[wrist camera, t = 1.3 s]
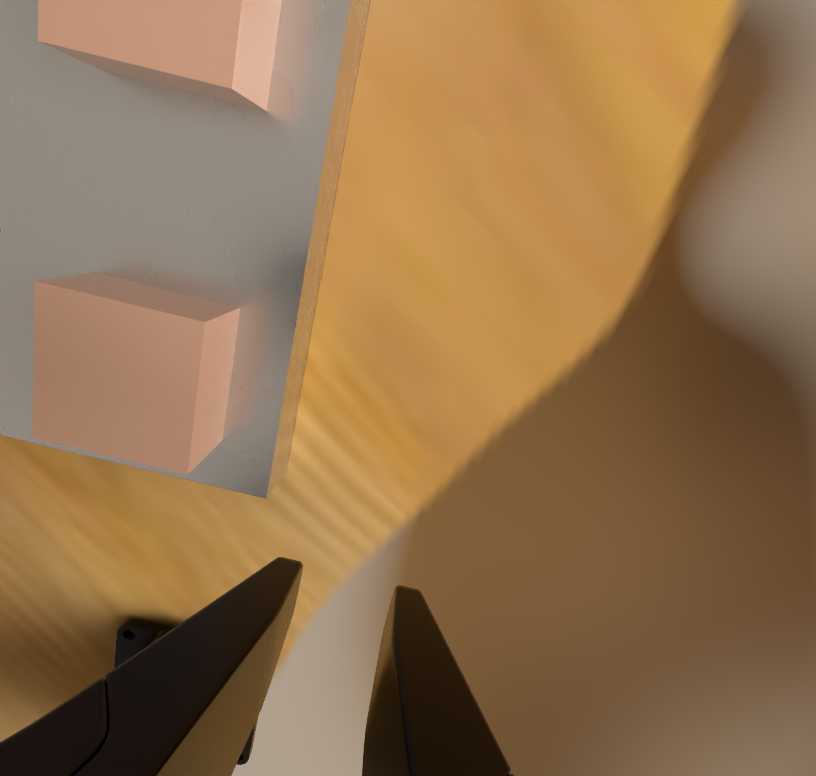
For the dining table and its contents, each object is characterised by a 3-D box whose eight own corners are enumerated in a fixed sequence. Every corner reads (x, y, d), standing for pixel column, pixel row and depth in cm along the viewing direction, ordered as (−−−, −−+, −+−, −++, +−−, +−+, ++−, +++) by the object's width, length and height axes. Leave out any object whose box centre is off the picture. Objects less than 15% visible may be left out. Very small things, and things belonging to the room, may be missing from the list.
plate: (286, 466, 20) (266, 498, 18) (32, 405, 20) (-23, 429, 18) (387, -97, 15) (377, -158, 12) (39, -184, 15) (-38, -263, 12)
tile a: (222, 440, 17) (187, 474, 15) (88, 408, 17) (32, 437, 15) (240, 307, 16) (205, 321, 14) (95, 272, 16) (34, 280, 14)
